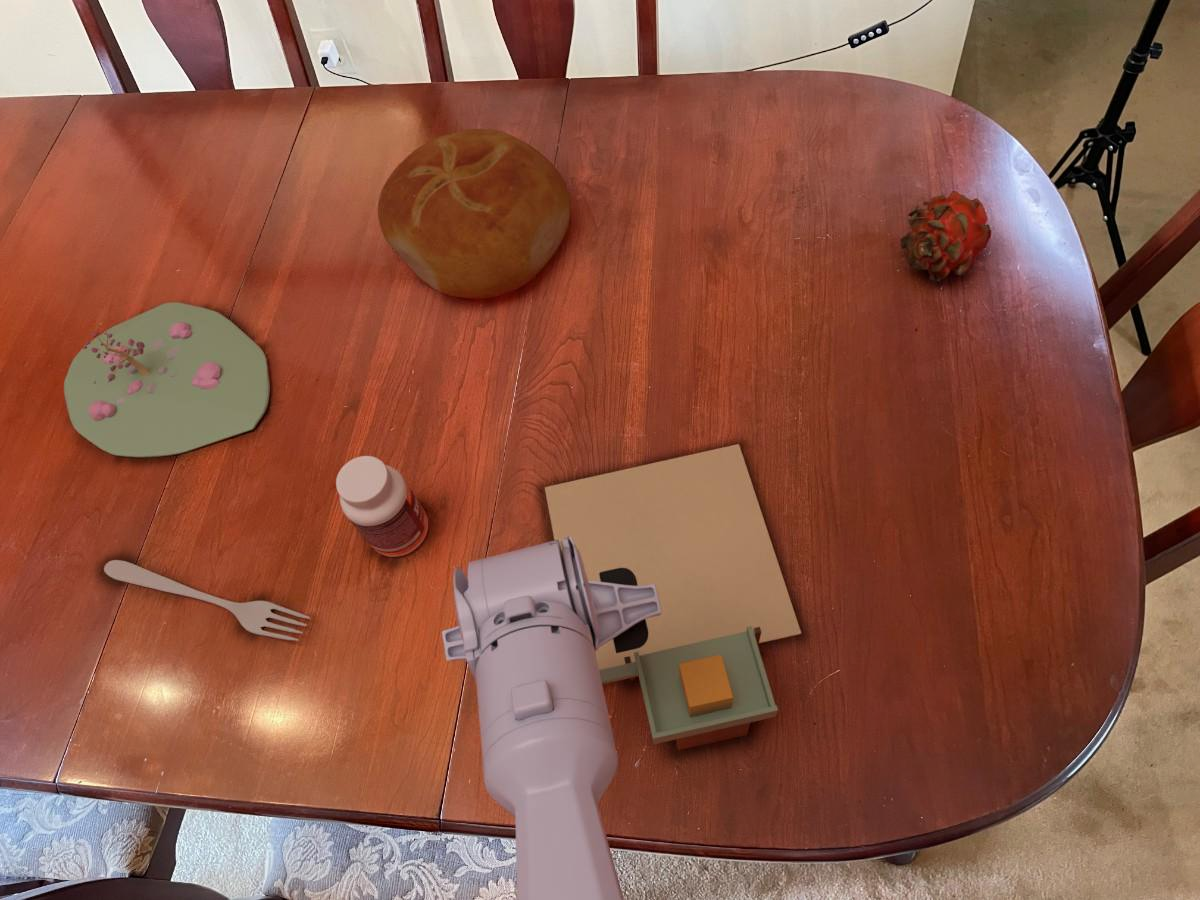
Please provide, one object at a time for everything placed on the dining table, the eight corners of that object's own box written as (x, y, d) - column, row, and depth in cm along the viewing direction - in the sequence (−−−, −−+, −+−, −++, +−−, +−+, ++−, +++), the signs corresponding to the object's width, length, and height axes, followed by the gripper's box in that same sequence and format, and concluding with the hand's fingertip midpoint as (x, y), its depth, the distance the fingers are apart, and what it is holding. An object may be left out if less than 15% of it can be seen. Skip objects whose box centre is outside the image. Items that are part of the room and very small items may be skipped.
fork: (114, 551, 86) (104, 544, 85) (319, 619, 80) (312, 612, 79) (96, 579, 85) (85, 573, 83) (303, 650, 79) (295, 645, 77)
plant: (308, 317, 99) (275, 265, 91) (242, 472, 90) (198, 428, 82) (120, 301, 104) (73, 250, 96) (37, 447, 94) (-23, 403, 86)
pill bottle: (442, 528, 84) (410, 477, 74) (393, 571, 82) (354, 524, 73) (404, 490, 86) (368, 435, 77) (356, 531, 85) (313, 480, 75)
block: (731, 708, 66) (733, 697, 64) (689, 717, 66) (689, 707, 64) (720, 665, 68) (721, 654, 65) (679, 675, 68) (678, 663, 65)
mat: (801, 634, 75) (801, 633, 75) (581, 684, 75) (581, 683, 75) (738, 445, 85) (738, 443, 85) (544, 488, 85) (544, 487, 85)
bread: (365, 305, 99) (333, 246, 91) (417, 164, 110) (393, 99, 102) (554, 318, 96) (540, 257, 87) (588, 171, 107) (579, 104, 98)
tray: (775, 717, 66) (778, 710, 64) (582, 761, 66) (579, 755, 64) (742, 604, 71) (743, 594, 69) (562, 644, 71) (558, 636, 69)
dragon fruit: (911, 308, 93) (936, 243, 100) (990, 291, 87) (1012, 224, 94) (880, 246, 89) (909, 183, 96) (961, 224, 83) (986, 158, 90)
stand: (779, 727, 72) (785, 711, 66) (646, 757, 71) (642, 744, 66) (755, 647, 75) (759, 626, 70) (628, 676, 75) (623, 657, 70)
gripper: (646, 528, 53) (643, 557, 66) (417, 578, 52) (460, 598, 66) (672, 641, 51) (664, 648, 64) (436, 694, 51) (476, 690, 64)
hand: (562, 629), depth 65 cm, fingers open, 7 cm apart
